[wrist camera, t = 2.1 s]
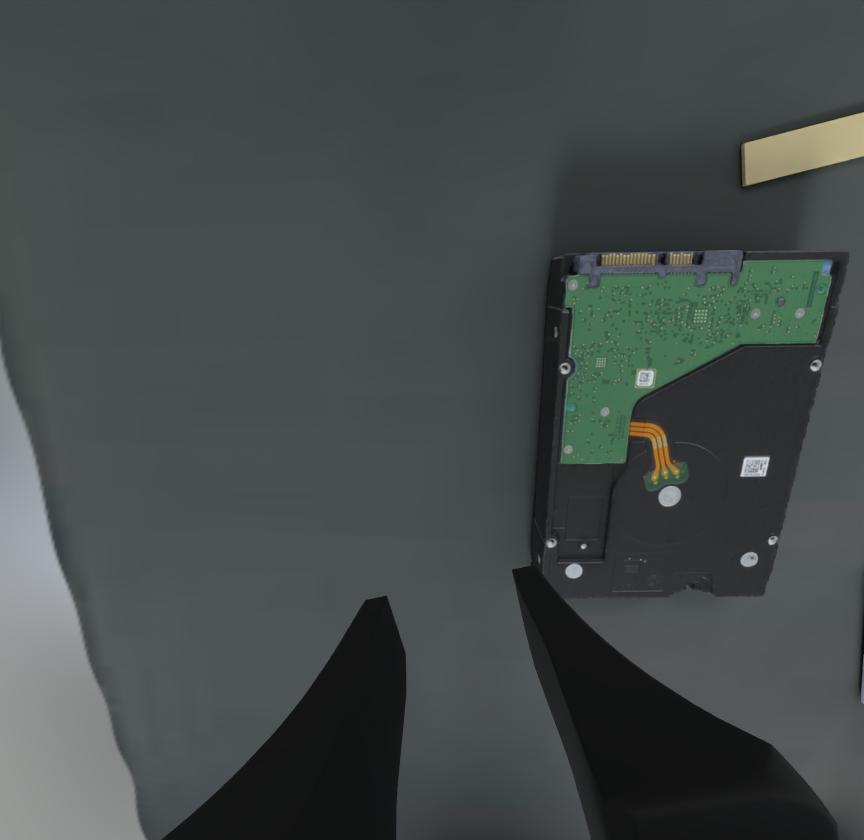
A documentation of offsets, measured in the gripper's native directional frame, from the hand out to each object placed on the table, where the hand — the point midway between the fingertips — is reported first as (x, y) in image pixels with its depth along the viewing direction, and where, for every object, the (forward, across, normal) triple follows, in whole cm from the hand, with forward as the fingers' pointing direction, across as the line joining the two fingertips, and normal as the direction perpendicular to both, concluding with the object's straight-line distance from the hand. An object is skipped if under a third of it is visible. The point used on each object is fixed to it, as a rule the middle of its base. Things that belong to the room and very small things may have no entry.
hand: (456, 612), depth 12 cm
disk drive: (+10, -10, 0) cm, 14 cm away
